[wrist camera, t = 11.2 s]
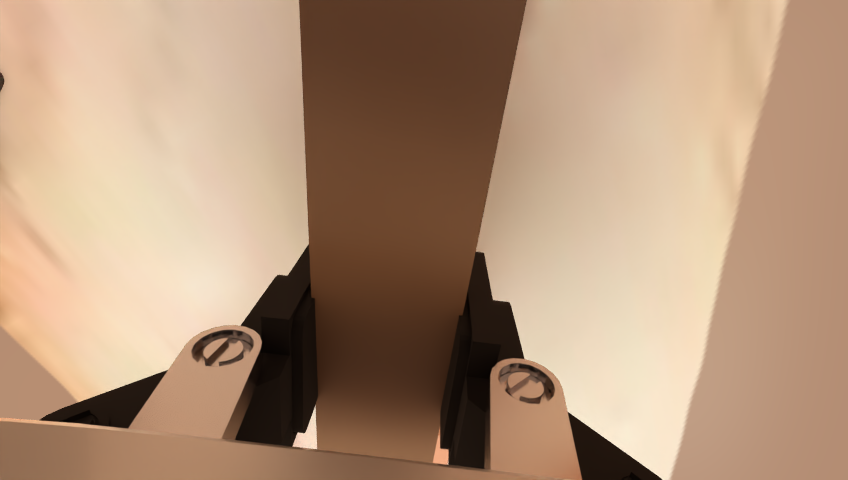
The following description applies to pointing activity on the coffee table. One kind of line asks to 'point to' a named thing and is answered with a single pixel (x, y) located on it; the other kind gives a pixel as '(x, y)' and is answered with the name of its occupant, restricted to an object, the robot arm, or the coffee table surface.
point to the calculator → (1, 81)
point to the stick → (396, 202)
